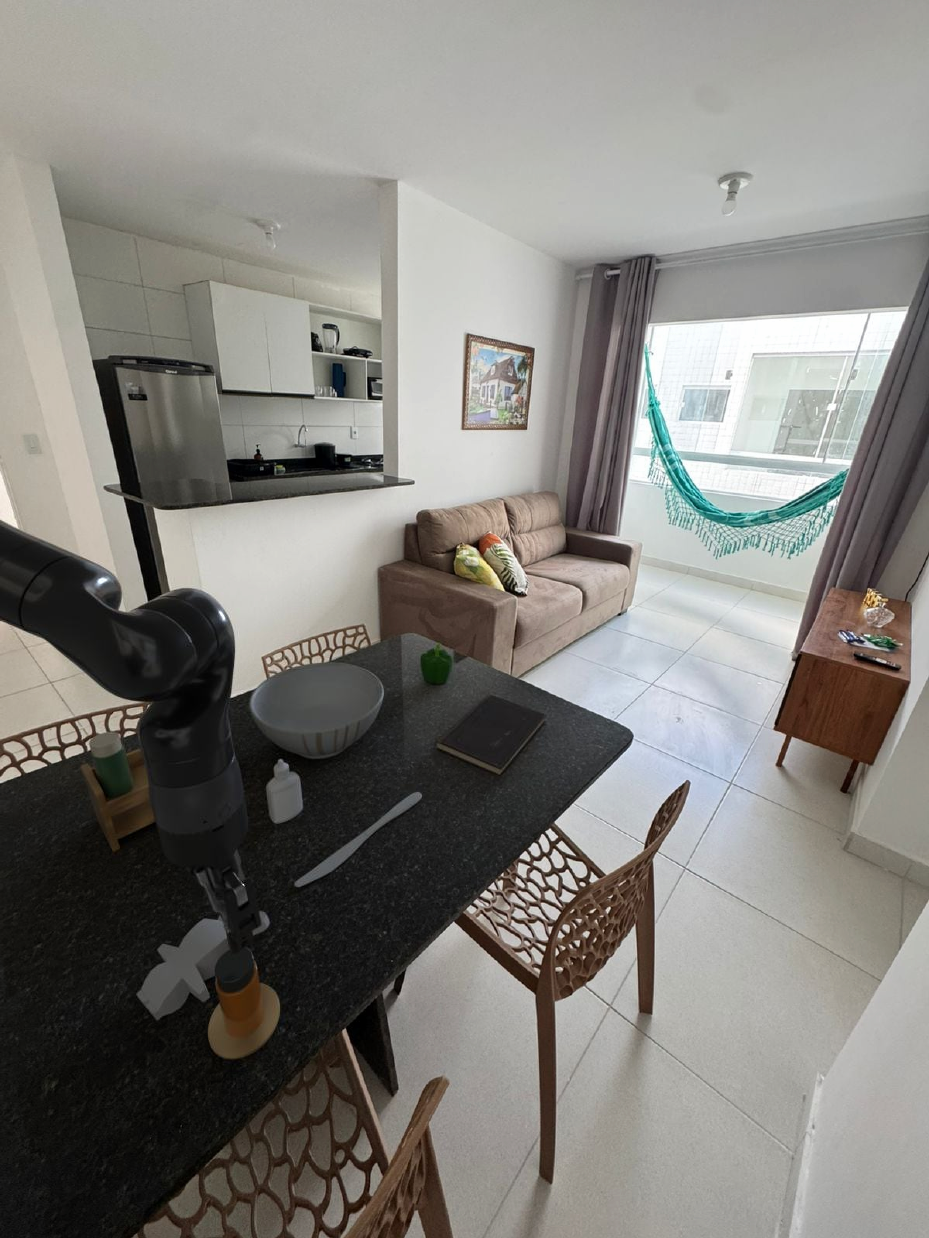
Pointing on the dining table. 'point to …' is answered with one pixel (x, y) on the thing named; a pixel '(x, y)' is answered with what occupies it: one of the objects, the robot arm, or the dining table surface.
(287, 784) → the eye dropper bottle
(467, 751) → the hardcover book
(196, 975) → the bunny figurine
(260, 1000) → the amber spice bottle
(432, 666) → the bell pepper
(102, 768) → the green spice bottle
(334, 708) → the decorative bowl
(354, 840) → the butter knife
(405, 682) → the dining table surface
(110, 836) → the spice rack
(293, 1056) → the dining table surface
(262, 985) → the cork coaster
